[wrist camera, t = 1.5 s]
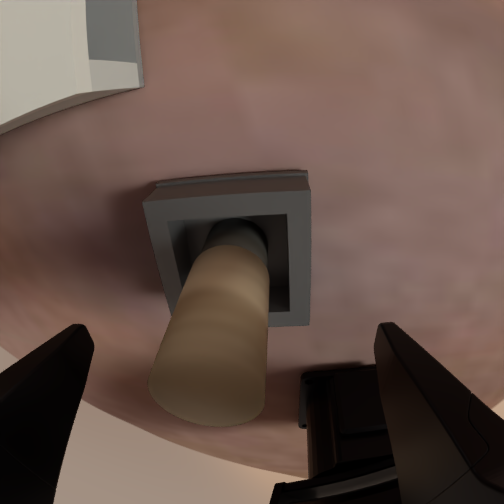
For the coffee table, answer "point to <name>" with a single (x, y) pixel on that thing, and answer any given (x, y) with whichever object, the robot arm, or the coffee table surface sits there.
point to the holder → (246, 207)
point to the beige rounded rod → (218, 332)
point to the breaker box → (65, 55)
